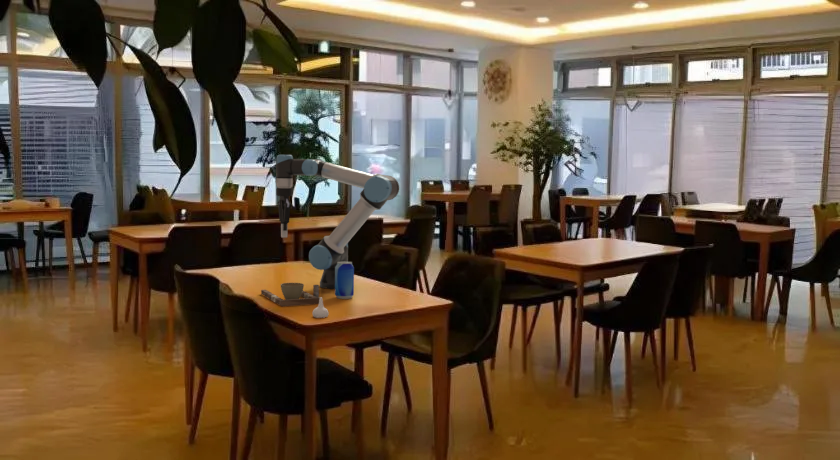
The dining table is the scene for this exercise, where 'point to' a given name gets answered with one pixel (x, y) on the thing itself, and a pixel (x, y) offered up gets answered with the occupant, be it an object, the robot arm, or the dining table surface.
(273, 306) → the dining table surface
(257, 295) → the dining table surface
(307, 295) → the rail channel
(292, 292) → the flower pot
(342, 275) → the beer can
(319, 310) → the garlic bulb
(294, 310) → the dining table surface
